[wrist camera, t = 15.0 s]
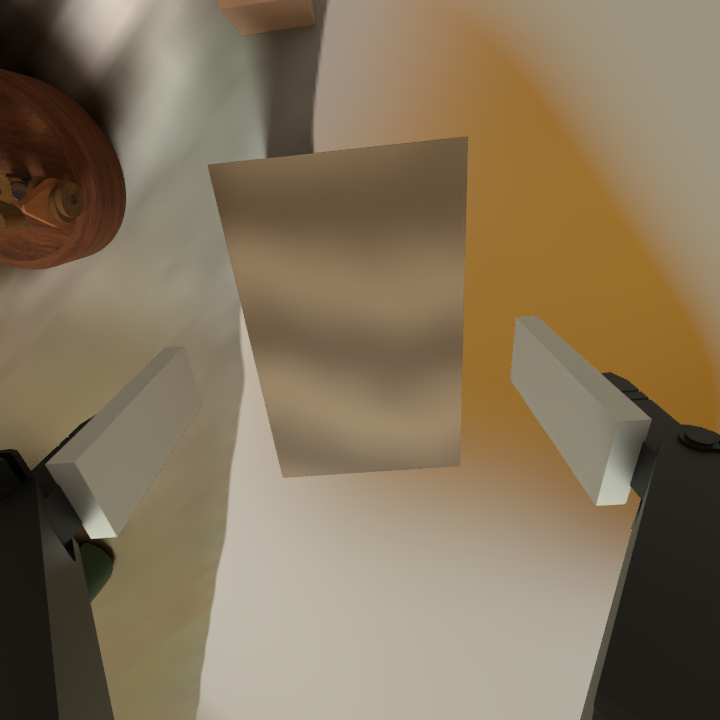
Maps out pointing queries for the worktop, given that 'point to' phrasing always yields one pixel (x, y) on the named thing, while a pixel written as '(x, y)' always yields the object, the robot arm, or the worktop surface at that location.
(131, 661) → the worktop surface
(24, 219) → the music box
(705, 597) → the robot arm
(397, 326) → the brown wooden block
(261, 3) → the terracotta block
